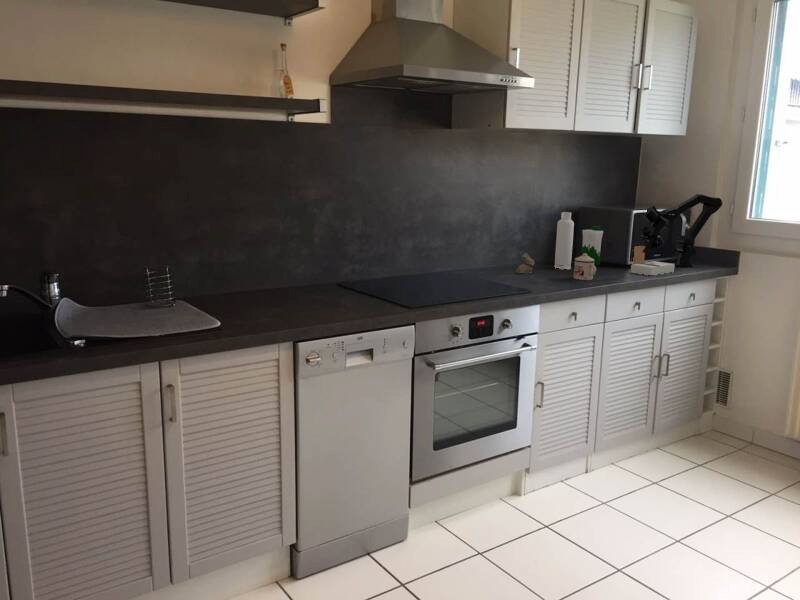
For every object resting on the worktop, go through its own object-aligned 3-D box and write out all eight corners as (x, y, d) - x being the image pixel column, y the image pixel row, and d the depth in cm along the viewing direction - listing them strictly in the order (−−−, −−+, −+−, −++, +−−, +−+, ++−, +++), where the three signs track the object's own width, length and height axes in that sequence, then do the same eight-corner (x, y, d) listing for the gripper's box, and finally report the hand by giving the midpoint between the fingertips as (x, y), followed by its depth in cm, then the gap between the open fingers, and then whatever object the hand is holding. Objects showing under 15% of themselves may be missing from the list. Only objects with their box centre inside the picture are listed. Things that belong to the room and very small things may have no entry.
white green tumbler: (602, 265, 338) (605, 227, 334) (587, 266, 335) (590, 227, 331) (592, 263, 346) (595, 225, 342) (577, 263, 344) (580, 225, 339)
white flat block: (653, 268, 330) (654, 260, 329) (673, 272, 322) (674, 263, 321) (630, 272, 318) (631, 263, 317) (650, 276, 310) (651, 266, 309)
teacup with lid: (568, 277, 302) (570, 252, 300) (583, 276, 306) (585, 251, 304) (586, 282, 292) (588, 256, 289) (602, 280, 296) (604, 255, 293)
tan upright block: (640, 266, 336) (642, 245, 334) (643, 267, 334) (645, 246, 332) (630, 267, 334) (632, 246, 331) (634, 268, 332) (636, 246, 329)
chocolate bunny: (530, 275, 307) (531, 254, 305) (514, 273, 312) (515, 252, 310) (534, 273, 312) (535, 252, 310) (519, 271, 316) (520, 251, 314)
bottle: (573, 269, 325) (577, 213, 319) (558, 269, 324) (562, 213, 318) (566, 266, 333) (570, 211, 327) (551, 267, 331) (555, 211, 325)
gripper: (635, 216, 338) (616, 238, 337) (661, 219, 321) (642, 242, 320) (645, 231, 343) (627, 252, 341) (672, 235, 326) (652, 257, 324)
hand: (636, 251), depth 332 cm, fingers open, 9 cm apart
